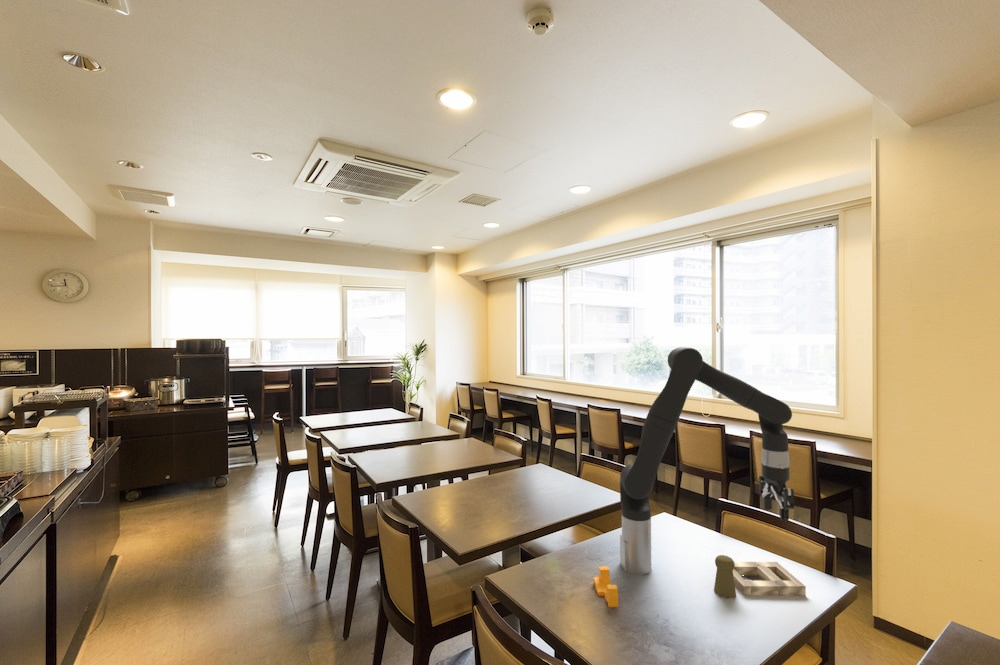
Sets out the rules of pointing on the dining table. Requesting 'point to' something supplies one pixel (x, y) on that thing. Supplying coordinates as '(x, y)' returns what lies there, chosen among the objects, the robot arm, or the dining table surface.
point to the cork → (724, 577)
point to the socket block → (766, 579)
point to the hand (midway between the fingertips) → (775, 514)
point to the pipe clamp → (606, 587)
